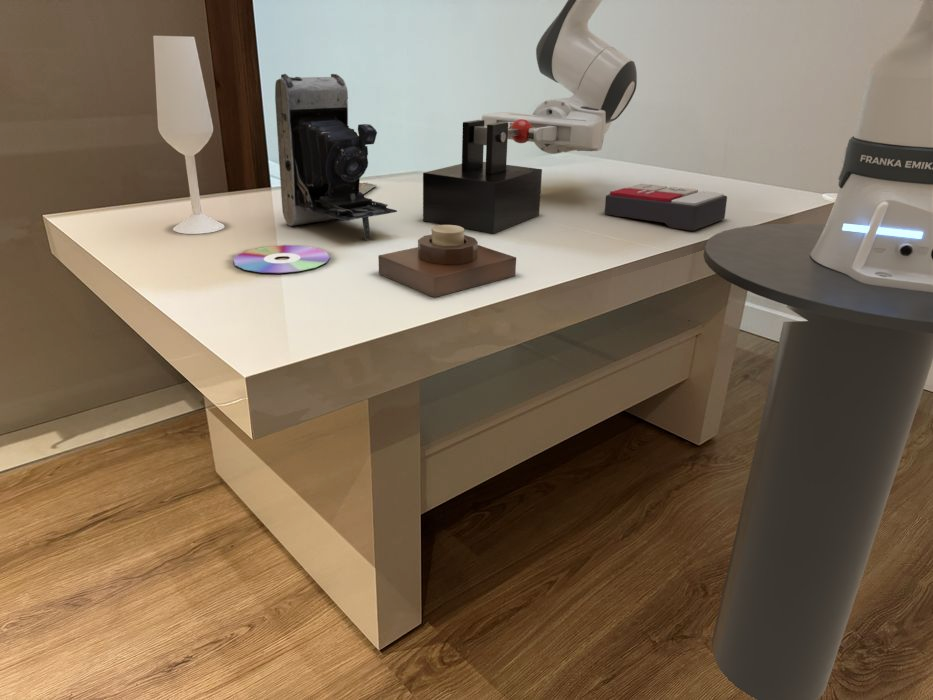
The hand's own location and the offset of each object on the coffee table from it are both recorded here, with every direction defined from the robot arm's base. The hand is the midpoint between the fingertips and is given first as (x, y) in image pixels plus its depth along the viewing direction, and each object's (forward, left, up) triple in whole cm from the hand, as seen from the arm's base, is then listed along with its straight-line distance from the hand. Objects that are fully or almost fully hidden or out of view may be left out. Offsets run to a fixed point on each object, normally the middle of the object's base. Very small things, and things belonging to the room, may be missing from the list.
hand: (518, 133), depth 109 cm
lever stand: (0, +10, -11) cm, 15 cm away
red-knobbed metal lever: (0, +4, -1) cm, 5 cm away
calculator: (-22, -8, -12) cm, 26 cm away
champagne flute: (+28, +39, -12) cm, 49 cm away
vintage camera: (+12, +28, -12) cm, 33 cm away
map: (+26, +11, -12) cm, 31 cm away
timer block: (-11, +36, -11) cm, 39 cm away
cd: (+8, +43, -11) cm, 45 cm away
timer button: (-11, +36, -8) cm, 38 cm away
